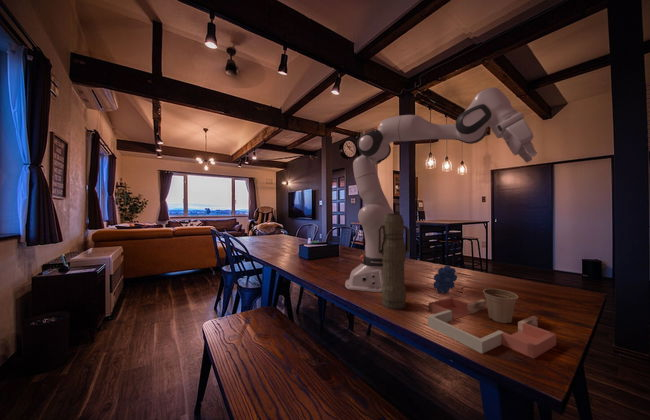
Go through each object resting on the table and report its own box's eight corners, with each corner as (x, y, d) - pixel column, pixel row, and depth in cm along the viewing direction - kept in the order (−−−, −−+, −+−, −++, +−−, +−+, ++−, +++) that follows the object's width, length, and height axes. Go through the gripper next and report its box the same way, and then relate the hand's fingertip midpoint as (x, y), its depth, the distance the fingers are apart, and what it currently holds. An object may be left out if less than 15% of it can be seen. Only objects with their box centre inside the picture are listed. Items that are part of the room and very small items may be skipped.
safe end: (448, 318, 80) (448, 309, 80) (504, 343, 65) (504, 332, 65) (427, 325, 75) (427, 316, 75) (482, 353, 60) (482, 342, 60)
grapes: (449, 288, 109) (449, 262, 109) (460, 293, 103) (460, 265, 103) (427, 290, 106) (427, 264, 106) (437, 296, 100) (437, 267, 100)
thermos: (414, 308, 88) (413, 213, 88) (383, 310, 86) (382, 214, 86) (403, 299, 97) (403, 213, 96) (375, 301, 95) (374, 213, 95)
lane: (482, 307, 88) (482, 299, 88) (537, 326, 74) (537, 317, 74) (467, 312, 84) (467, 304, 84) (522, 334, 70) (522, 323, 70)
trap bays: (451, 304, 91) (451, 296, 91) (556, 345, 64) (556, 333, 64) (428, 311, 85) (428, 303, 85) (533, 358, 58) (533, 346, 58)
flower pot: (525, 327, 73) (525, 299, 73) (491, 324, 75) (491, 297, 75) (508, 314, 83) (508, 289, 83) (478, 312, 85) (478, 287, 84)
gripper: (497, 139, 95) (517, 168, 91) (500, 122, 78) (525, 157, 74) (515, 129, 92) (536, 159, 88) (522, 110, 75) (549, 146, 71)
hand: (531, 158), depth 81 cm, fingers open, 8 cm apart
